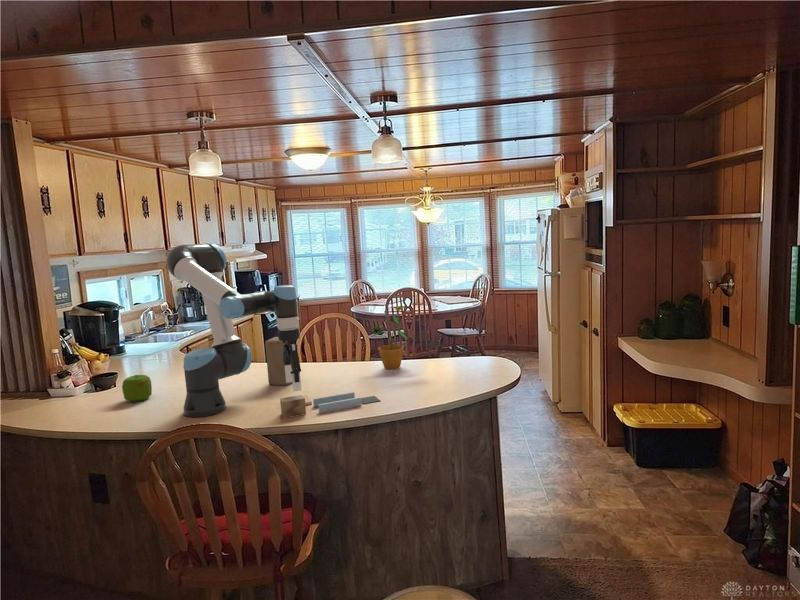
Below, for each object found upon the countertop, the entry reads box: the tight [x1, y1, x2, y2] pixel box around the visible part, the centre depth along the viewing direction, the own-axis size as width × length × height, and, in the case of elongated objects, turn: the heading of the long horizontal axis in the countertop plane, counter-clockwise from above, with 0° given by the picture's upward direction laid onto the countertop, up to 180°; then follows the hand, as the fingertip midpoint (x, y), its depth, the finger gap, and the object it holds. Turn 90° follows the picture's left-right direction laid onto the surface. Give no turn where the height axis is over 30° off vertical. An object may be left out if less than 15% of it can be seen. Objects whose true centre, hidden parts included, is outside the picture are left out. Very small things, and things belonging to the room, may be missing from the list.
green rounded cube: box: [121, 374, 153, 403], centre depth 221 cm, size 11×11×11 cm
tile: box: [302, 394, 313, 406], centre depth 206 cm, size 10×10×1 cm
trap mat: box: [361, 395, 381, 405], centre depth 204 cm, size 7×7×1 cm
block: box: [279, 394, 307, 419], centre depth 192 cm, size 8×5×6 cm, turn 112°
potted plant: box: [371, 305, 408, 370], centre depth 250 cm, size 18×19×30 cm
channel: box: [312, 391, 362, 414], centre depth 199 cm, size 16×9×3 cm, turn 113°
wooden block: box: [264, 336, 293, 386], centre depth 236 cm, size 10×10×20 cm
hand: (293, 386), depth 192 cm, fingers open, 13 cm apart
